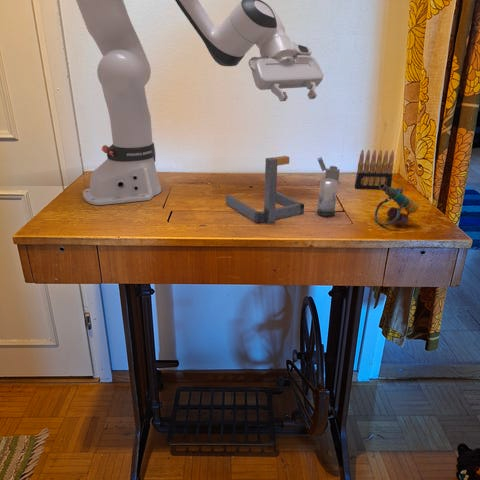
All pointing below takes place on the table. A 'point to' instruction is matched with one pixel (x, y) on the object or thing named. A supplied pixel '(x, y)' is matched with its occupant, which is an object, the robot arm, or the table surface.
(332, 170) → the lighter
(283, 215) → the grey metal bar frame
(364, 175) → the ammunition clip
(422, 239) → the table surface
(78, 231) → the table surface
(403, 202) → the binoculars
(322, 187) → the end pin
